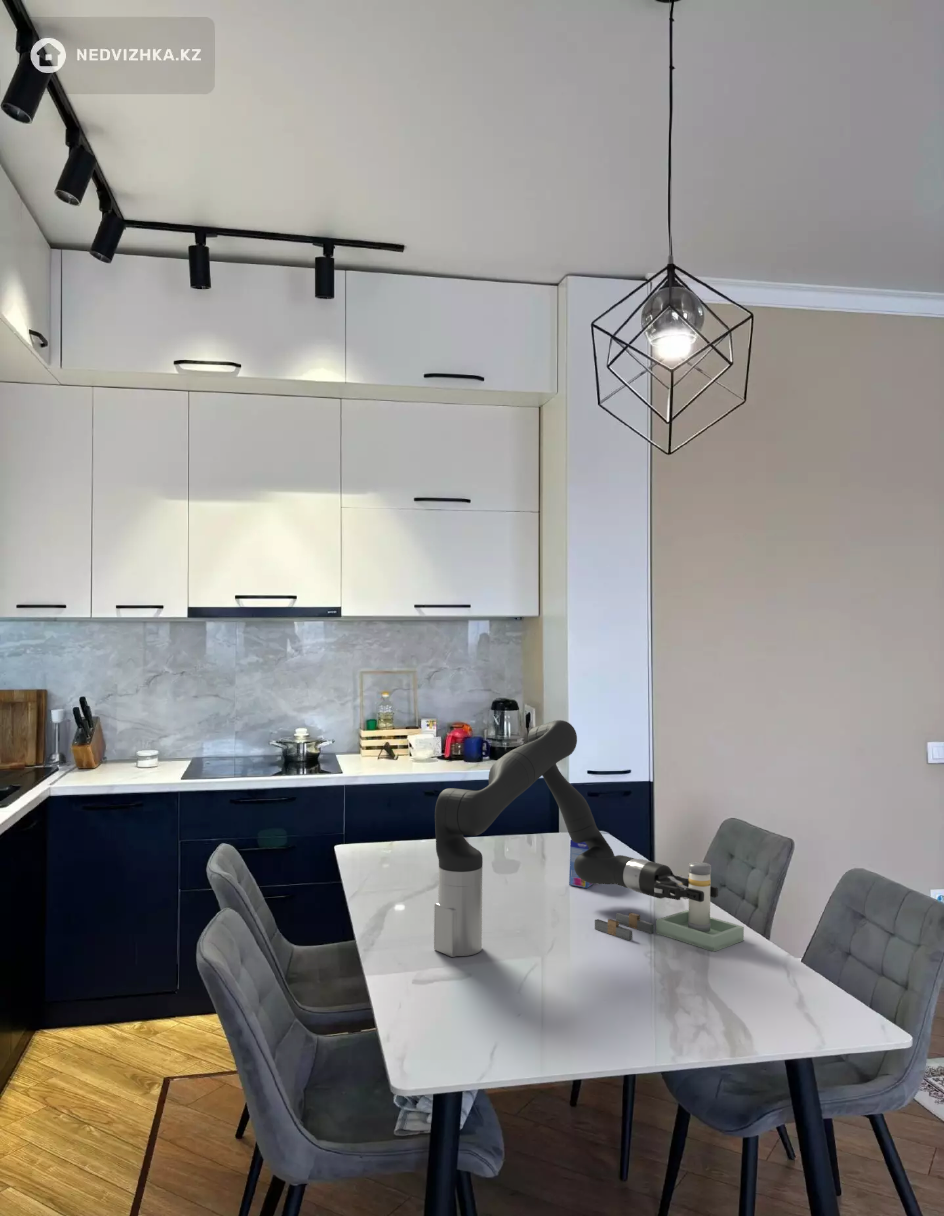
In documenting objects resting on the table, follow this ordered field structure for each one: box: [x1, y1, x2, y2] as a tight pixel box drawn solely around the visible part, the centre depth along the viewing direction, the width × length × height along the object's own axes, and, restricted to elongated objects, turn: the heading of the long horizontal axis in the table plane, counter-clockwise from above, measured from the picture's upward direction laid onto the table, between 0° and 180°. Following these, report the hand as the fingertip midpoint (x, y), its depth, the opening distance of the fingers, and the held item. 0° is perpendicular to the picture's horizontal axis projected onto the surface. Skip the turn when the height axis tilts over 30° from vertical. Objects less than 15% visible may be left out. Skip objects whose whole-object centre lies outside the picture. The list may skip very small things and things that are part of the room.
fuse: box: [687, 861, 712, 932], centre depth 201 cm, size 5×5×14 cm
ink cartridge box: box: [568, 838, 593, 889], centre depth 243 cm, size 10×6×14 cm, turn 152°
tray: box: [655, 909, 745, 953], centre depth 200 cm, size 11×15×3 cm
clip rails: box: [594, 912, 654, 941], centre depth 204 cm, size 8×10×3 cm
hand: (709, 895), depth 199 cm, fingers closed on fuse, 4 cm apart
